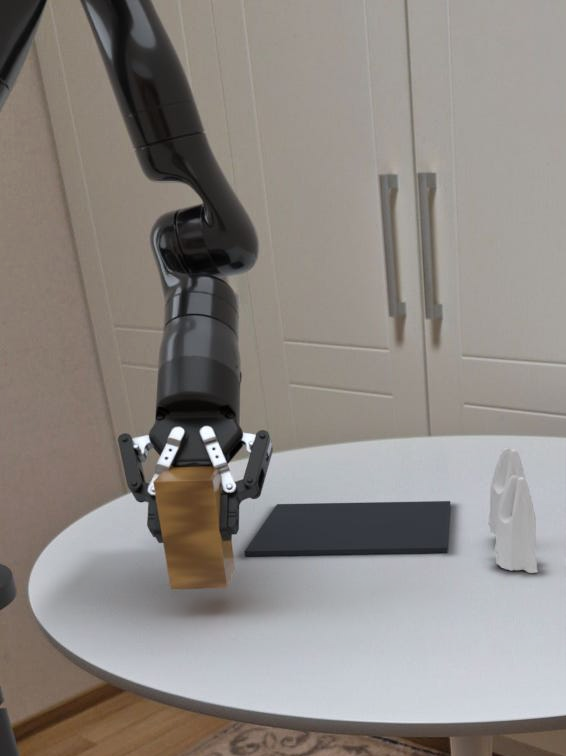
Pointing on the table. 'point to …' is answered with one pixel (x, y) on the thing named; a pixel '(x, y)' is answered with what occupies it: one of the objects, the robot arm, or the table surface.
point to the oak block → (193, 528)
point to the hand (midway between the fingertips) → (193, 537)
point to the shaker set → (512, 515)
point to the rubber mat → (353, 529)
